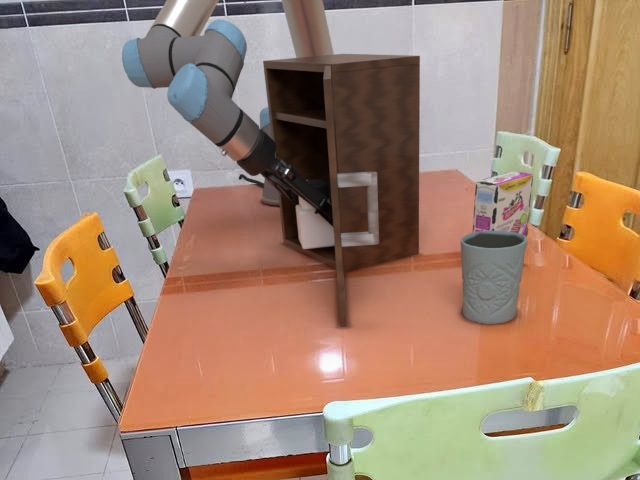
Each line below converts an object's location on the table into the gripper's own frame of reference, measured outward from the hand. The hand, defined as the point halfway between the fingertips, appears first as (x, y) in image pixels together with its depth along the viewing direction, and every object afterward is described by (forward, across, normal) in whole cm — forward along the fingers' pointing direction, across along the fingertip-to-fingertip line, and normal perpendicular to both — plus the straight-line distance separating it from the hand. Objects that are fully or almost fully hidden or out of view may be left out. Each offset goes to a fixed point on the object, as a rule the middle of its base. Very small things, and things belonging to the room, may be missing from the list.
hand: (329, 220), depth 134 cm
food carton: (+18, +31, +8) cm, 37 cm away
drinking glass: (+7, +46, -3) cm, 47 cm away
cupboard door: (-2, +26, -11) cm, 29 cm away
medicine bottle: (+1, 0, -5) cm, 5 cm away
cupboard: (+8, 0, -2) cm, 8 cm away
